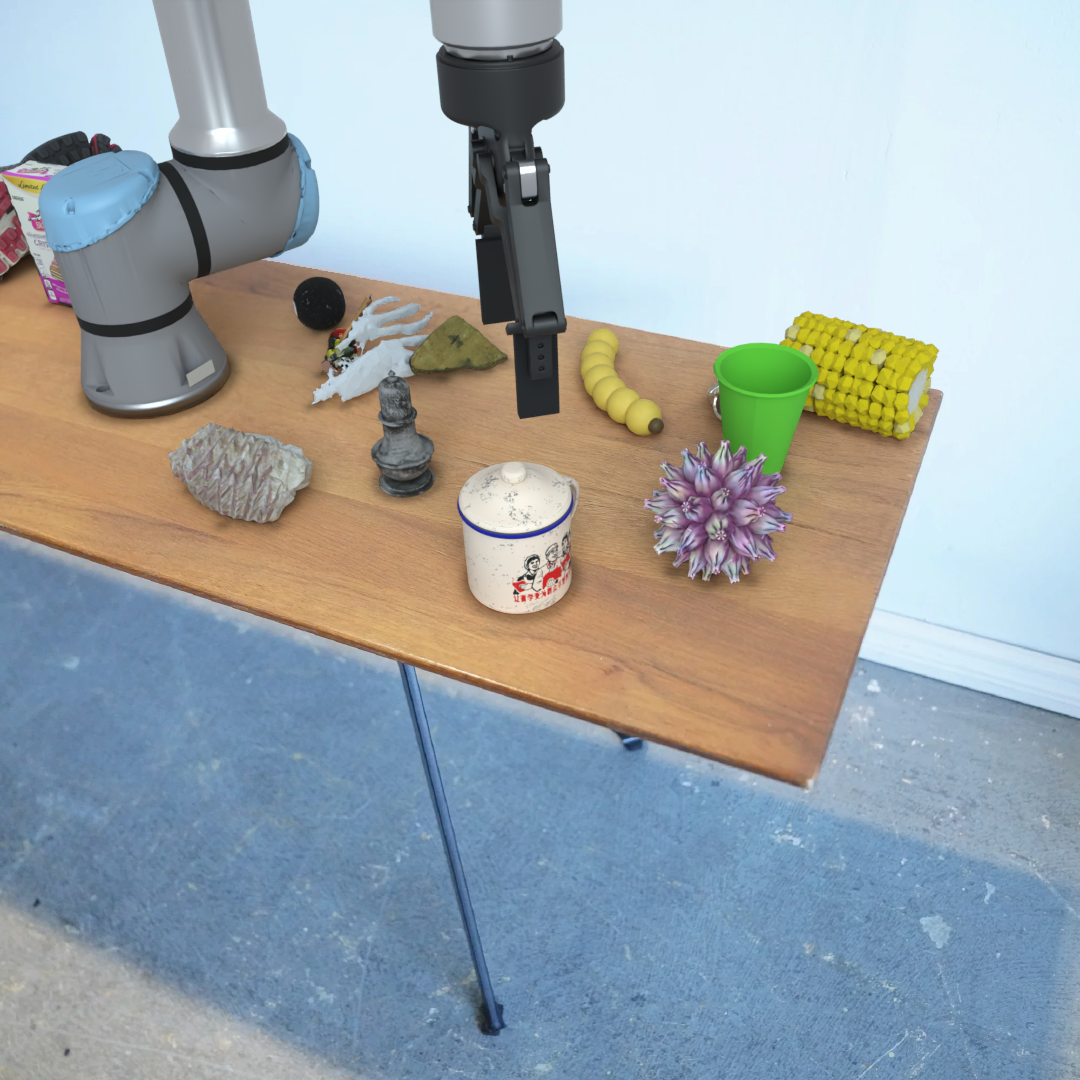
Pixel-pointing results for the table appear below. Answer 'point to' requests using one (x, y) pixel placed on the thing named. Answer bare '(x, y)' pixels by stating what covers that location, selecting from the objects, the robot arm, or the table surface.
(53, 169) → the candy bar box
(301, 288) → the billiard ball
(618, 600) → the table surface
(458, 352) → the stone
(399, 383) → the grey carved upright piece
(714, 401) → the ornament
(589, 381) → the yellow segmented curved bar
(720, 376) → the cup
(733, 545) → the flower
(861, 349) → the food
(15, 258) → the running shoe
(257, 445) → the grey ridged fossil rock
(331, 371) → the decorative object
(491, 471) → the teacup with lid
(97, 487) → the table surface
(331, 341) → the toy figure
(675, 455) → the table surface
